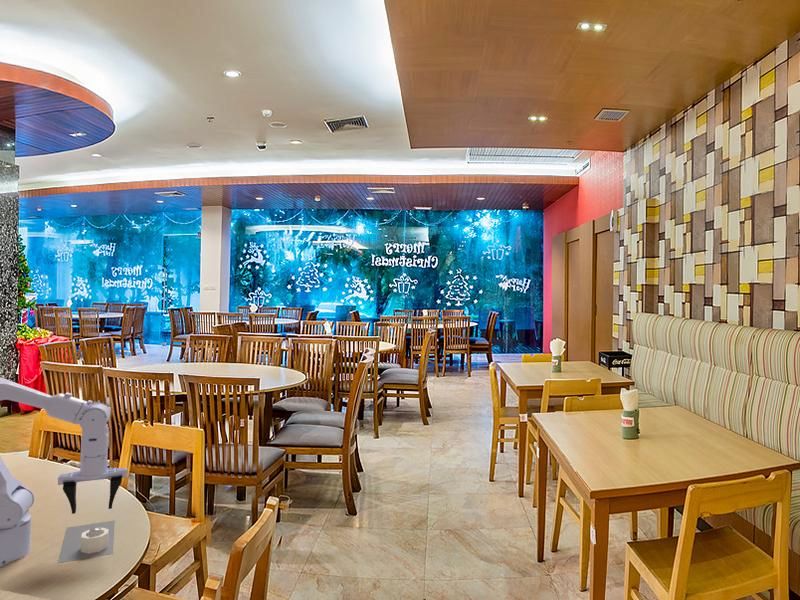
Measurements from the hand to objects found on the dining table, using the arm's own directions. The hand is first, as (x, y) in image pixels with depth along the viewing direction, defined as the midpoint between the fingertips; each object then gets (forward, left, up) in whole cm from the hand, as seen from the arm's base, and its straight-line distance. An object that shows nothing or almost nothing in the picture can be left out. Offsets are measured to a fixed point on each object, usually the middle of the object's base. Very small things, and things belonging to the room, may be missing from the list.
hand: (92, 509), depth 128 cm
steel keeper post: (-1, -2, -9) cm, 9 cm away
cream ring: (-1, -2, -9) cm, 9 cm away
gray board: (+2, +3, -10) cm, 10 cm away
